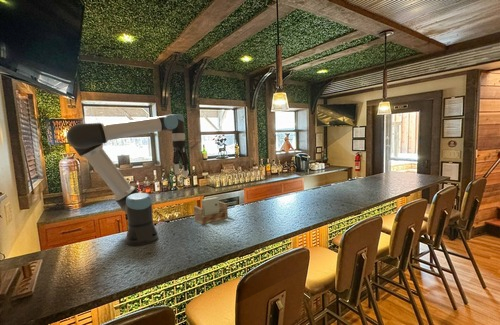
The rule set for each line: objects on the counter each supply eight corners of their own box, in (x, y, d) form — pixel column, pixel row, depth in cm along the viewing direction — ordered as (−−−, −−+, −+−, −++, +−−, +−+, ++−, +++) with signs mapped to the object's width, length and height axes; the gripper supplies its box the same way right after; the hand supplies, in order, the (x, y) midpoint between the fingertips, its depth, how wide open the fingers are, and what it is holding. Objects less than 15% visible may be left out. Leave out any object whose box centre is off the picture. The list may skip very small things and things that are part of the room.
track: (201, 224, 147) (200, 209, 146) (194, 220, 155) (193, 206, 155) (227, 217, 158) (227, 203, 157) (220, 214, 166) (219, 201, 165)
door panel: (205, 220, 152) (204, 200, 151) (203, 218, 155) (201, 199, 154) (220, 216, 158) (218, 197, 157) (217, 215, 161) (216, 196, 159)
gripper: (192, 139, 143) (195, 176, 145) (177, 140, 163) (180, 172, 165) (180, 140, 139) (182, 177, 141) (166, 141, 159) (168, 174, 161)
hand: (181, 175), depth 153 cm, fingers open, 13 cm apart
